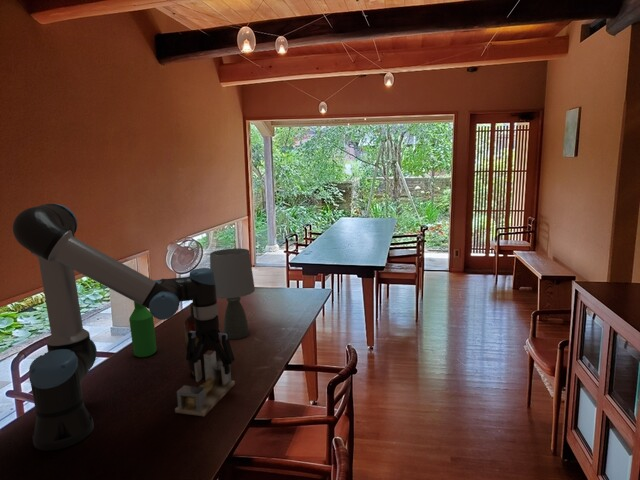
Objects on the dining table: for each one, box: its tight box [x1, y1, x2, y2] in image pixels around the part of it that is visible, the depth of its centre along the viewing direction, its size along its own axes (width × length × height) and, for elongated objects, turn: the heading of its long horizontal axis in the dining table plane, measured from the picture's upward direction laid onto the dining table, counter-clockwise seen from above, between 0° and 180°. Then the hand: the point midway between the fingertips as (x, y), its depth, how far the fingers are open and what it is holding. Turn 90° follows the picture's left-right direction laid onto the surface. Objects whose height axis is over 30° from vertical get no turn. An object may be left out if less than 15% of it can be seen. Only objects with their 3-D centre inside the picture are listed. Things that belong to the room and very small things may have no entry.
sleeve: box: [176, 385, 207, 412], centre depth 138 cm, size 4×7×6 cm, turn 74°
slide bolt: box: [184, 351, 222, 409], centre depth 145 cm, size 18×4×12 cm, turn 164°
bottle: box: [128, 301, 158, 358], centre depth 181 cm, size 9×9×25 cm
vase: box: [183, 301, 221, 379], centre depth 162 cm, size 11×11×26 cm
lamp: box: [209, 247, 256, 340], centre depth 196 cm, size 19×19×37 cm
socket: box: [204, 360, 232, 386], centre depth 153 cm, size 4×7×7 cm, turn 74°
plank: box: [174, 380, 236, 417], centre depth 146 cm, size 20×10×1 cm, turn 164°
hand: (212, 381), depth 150 cm, fingers open, 9 cm apart
